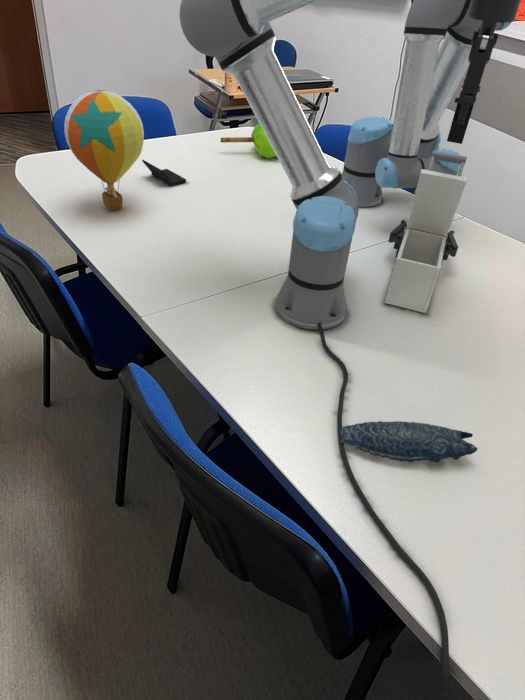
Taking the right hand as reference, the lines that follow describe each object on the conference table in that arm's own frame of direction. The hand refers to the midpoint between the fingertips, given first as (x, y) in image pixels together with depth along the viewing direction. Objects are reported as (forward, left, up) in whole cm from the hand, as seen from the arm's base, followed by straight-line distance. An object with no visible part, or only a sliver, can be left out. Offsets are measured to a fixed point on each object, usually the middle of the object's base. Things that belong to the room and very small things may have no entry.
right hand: (419, 257), depth 122 cm
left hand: (+7, -3, +30) cm, 31 cm away
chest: (+5, -2, -6) cm, 8 cm away
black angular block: (-58, -63, -6) cm, 86 cm away
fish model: (+53, -19, -6) cm, 56 cm away
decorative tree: (-87, -30, -6) cm, 92 cm away
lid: (+1, 0, +13) cm, 13 cm away
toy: (-36, -76, -6) cm, 84 cm away
